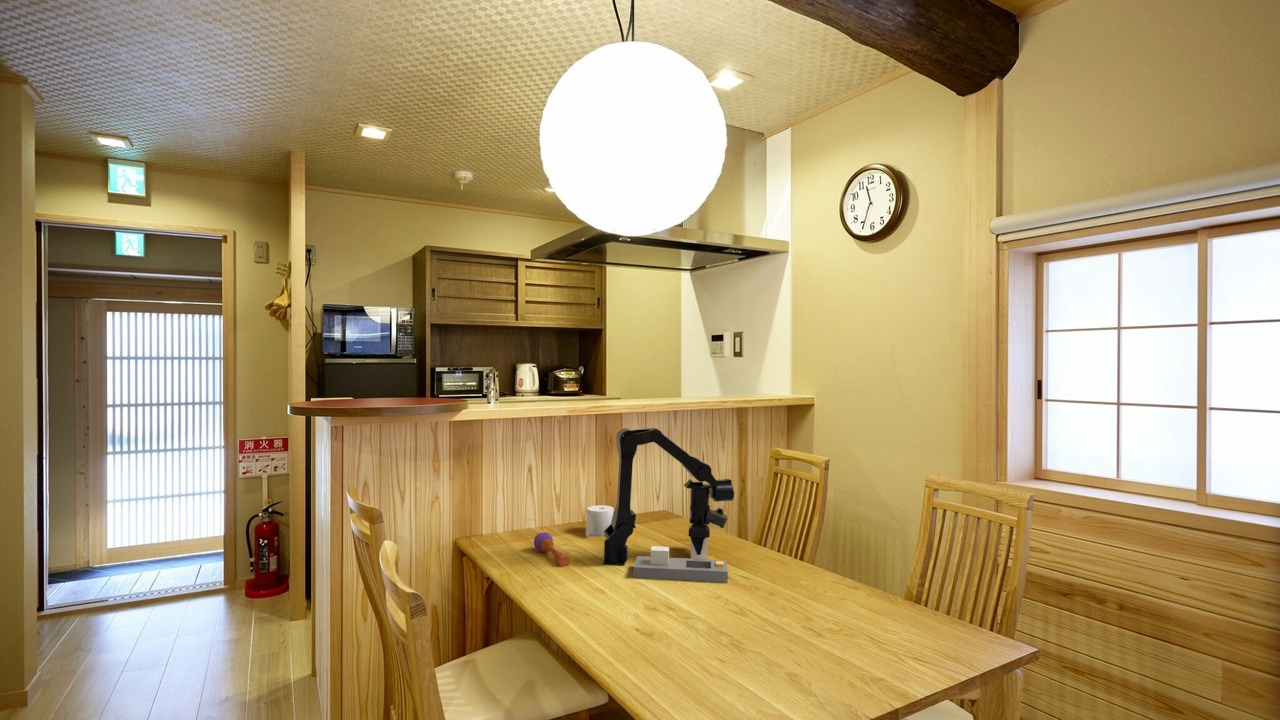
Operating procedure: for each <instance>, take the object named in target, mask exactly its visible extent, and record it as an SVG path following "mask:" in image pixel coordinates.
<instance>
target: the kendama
mask: <svg viewBox="0 0 1280 720" xmlns="http://www.w3.org/2000/svg"><path fill="white" fill-rule="evenodd" d="M533 546H534V548H535V549H536V550H537V552H541V553H549V552H551V554H552V555H553V557H554V558H555V560H556V561H557V563H558V564H559V566H560V567H561V568H563V567H567V566H569V565H570V561H571V558H570V557H569V556H567V554H564V553H563V552H561V551H559V550H557V549H555V548H554V539H553V537H552V535H551V534H549V533H548V532H545V531H544V532H539V533H537V534H536V535H535V537H534V540H533Z"/></svg>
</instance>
